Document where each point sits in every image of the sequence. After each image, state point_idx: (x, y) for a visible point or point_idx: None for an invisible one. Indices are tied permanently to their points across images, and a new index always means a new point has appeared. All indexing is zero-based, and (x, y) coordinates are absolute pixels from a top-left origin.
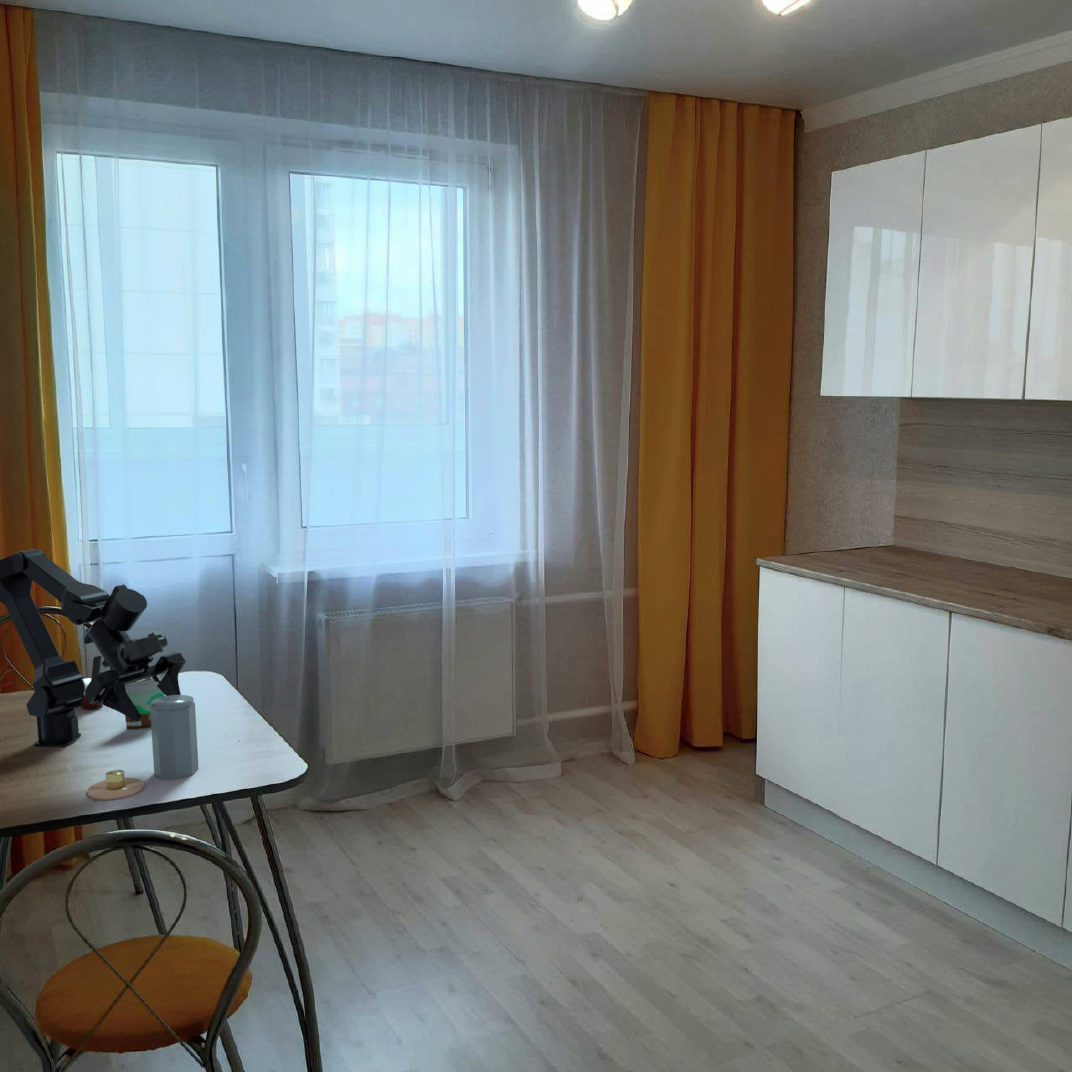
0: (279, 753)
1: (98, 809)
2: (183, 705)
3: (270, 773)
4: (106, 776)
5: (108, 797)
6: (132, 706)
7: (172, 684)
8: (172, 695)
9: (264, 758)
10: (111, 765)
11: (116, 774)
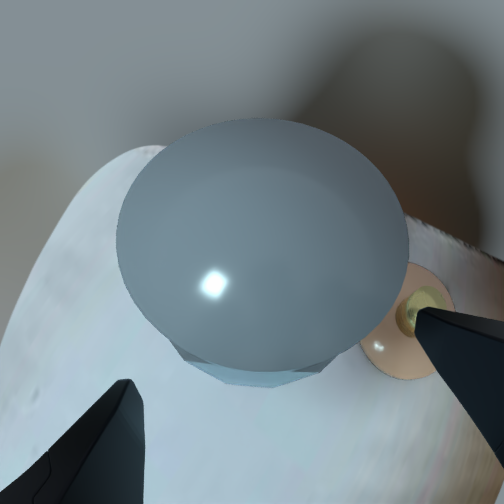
0: (49, 255)
1: (446, 248)
2: (256, 122)
3: (133, 180)
4: (445, 306)
5: (432, 274)
6: (486, 323)
7: (70, 493)
8: (184, 337)
9: (78, 252)
10: (354, 493)
11: (429, 295)
